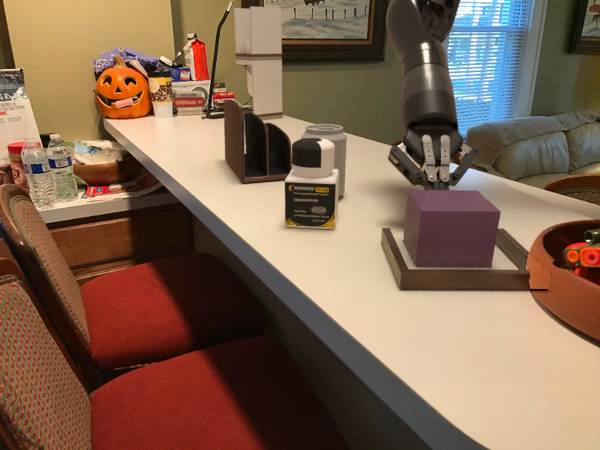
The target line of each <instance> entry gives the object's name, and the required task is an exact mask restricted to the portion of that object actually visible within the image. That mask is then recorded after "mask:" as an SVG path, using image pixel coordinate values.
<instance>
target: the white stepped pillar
mask: <svg viewBox="0 0 600 450" xmlns="http://www.w3.org/2000/svg"><path fill="white" fill-rule="evenodd" d="M233 23H234V25H233V26H234V47H235V48H234V49H235V64H236V65H243V66H244V65H245V66H246V76H247V77H246V85H247V93H248V95H250V96H251V97H252V109H249V110H243V113H244V115H245V113H248V112H251V113H254V114H255V115H257V116H258V117H259V118H260V119H261V120H262V121H269V120H276V119H283V51H282V50H283V48H282V47H283V45H282V44H283V42H282V41H283V40H282V37H283V36H282V7H271V6H270V7H269V6H249V8H244V7H243V8H241V7H233Z"/></svg>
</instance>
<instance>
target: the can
mask: <svg viewBox="0 0 600 450" xmlns="http://www.w3.org/2000/svg"><path fill="white" fill-rule="evenodd" d="M304 128H305V131H304V132H303V133H302V135H301V136H300V139H304V138H322V139H327V140H329V141H331V142H333V144H334V145H335V154H334V169H338V170H339V191H338V199H339V198H340V197H341V196H342V195H343V194H345V191H346V167H347V166H346V165H347V164H346V163H347V141H348V140H347V137H348V136H347V135H346V134H345V133H344V131H343V129H344V126H342V125H339V124H334V123H313V124H307V125H305V127H304Z"/></svg>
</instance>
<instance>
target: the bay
mask: <svg viewBox="0 0 600 450" xmlns="http://www.w3.org/2000/svg"><path fill="white" fill-rule="evenodd" d="M381 242H382V243H381ZM380 243H381V245H382V247H383V250H384V253H385V255H386V258H387V260H388V263H389V265H390V268H391V271H392V273H393V276H394V279H395V281H396V284H397V286H398V289H399V290H431V291H432V290H437V291H440V290H443V291H444V290H446V291H447V290H448V291H450V290H451V291H452V290H453V291H455V290H456V291H457V290H459V291H460V290H461V291H463V290H465V291H466V290H467V291H468V290H470V291H471V290H472V291H473V290H474V291H475V290H476V291H478V290H479V291H481V290H482V291H531V290H530V284H529V279H530V272H529V270H526V265H527V259H528V255H529V253H530V252H529V250H527V248H526V247H524V246H523V245H522V244H521V243H520V242H519V241H518V240H517V239H516V238H514V237H513V236H512V234H510V233H509V232H508V231H507V230H506V229H505V228H501V227H500V228H499V227H498V231H497V237H496V243H495V246H497V247H498V248H499V250H501V251H502V252H503V253H504V254H505V255H506V256H507V258H509V259H510V260H511V262H512V263H513V264H514V265H515V266H516V267H517V268H518V269H487V268H485V269H483V268H482V269H476V268H475V269H474V268H473V269H469V268H468V269H466V268H465V269H463V268H460V269H459V268H458V269H457V268H454V269H452V268H449V269H448V268H447V269H446V268H445V269H444V268H442V269H441V268H440V269H439V268H438V269H437V268H409V267H408V265H407V263H406V260H405V259H404V256H403V254H402V252H401V250H400V247H399V245H398V243H397V241H396V239H395V237H394V234H393V232H392V230H391V228H390V227H381V235H380Z"/></svg>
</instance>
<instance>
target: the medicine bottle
mask: <svg viewBox="0 0 600 450" xmlns="http://www.w3.org/2000/svg"><path fill="white" fill-rule="evenodd" d="M291 154H292V170H291V171H290V173H289V175H288V176H287V178H286V179H285V180H284V225H285V227H286V228H297V229H298V228H299V229H303V228H304V229H319V230H334V229H335V228H336V223H337V218H338V213H339V198H338V191H339V170H338V169H334V154H335V145H334V144H333V142H331V141H329V140H327V139H322V138H304V139H301V138H300V139H297V140H295V141H294V142H293V143H291Z"/></svg>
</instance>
